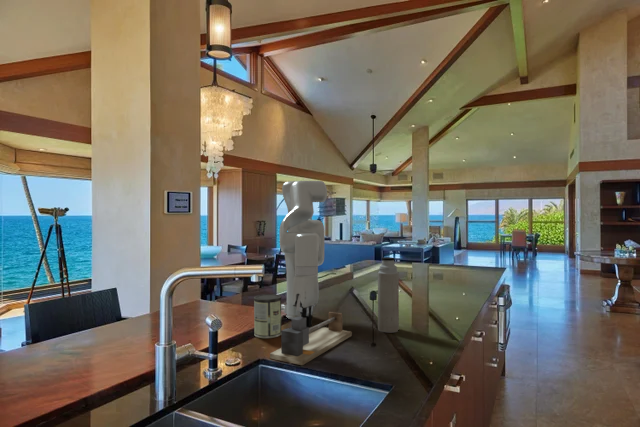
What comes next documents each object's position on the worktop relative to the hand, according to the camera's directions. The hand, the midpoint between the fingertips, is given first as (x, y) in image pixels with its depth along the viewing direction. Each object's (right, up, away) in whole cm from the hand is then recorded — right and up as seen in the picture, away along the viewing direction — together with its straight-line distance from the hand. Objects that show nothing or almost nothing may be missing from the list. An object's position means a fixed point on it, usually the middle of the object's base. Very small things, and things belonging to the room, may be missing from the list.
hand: (306, 326), depth 132 cm
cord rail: (+2, -8, +4) cm, 9 cm away
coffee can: (-15, -8, +18) cm, 25 cm away
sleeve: (-2, -4, -4) cm, 6 cm away
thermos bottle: (+31, -8, +24) cm, 40 cm away
